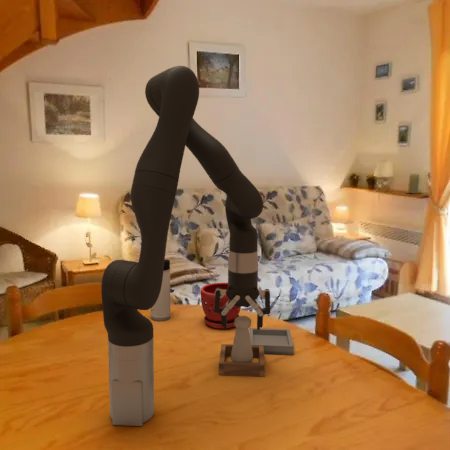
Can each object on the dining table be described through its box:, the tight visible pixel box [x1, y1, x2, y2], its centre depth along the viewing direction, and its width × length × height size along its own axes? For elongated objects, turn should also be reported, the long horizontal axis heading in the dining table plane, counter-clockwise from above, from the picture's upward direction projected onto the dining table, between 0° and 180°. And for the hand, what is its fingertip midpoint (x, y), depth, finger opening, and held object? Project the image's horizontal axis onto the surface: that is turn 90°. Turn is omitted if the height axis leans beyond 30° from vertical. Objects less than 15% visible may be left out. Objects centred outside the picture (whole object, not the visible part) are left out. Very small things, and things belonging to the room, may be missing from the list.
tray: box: [248, 327, 294, 356], centre depth 136 cm, size 12×12×2 cm
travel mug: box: [150, 258, 171, 322], centre depth 153 cm, size 6×7×20 cm
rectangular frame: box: [218, 343, 266, 377], centre depth 123 cm, size 11×11×3 cm
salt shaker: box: [230, 315, 254, 363], centre depth 122 cm, size 6×6×13 cm
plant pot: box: [200, 282, 242, 329], centre depth 150 cm, size 13×13×12 cm
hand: (241, 328), depth 122 cm, fingers open, 8 cm apart
